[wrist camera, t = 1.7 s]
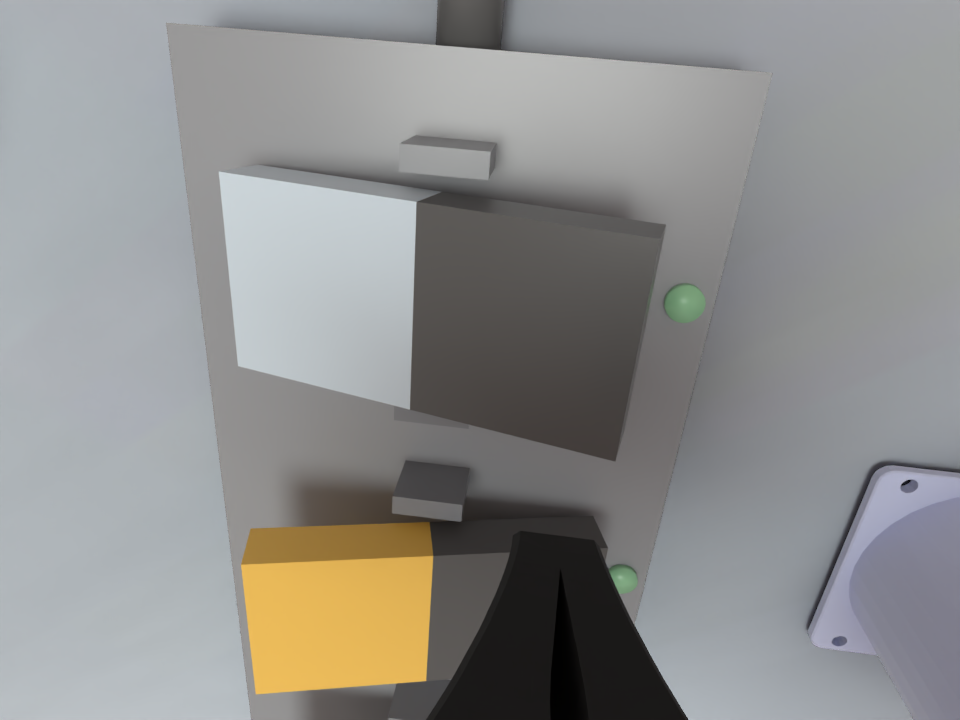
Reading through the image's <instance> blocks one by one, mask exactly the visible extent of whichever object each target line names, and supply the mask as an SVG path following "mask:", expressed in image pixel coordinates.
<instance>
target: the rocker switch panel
mask: <svg viewBox="0 0 960 720" xmlns="http://www.w3.org/2000/svg"><path fill="white" fill-rule="evenodd" d="M503 9H504V0H438V7H437V32H436V45H429V44H417V43H405V42H392V41H380V40H368V39H356V38H344V37H332V36H320V35H308V34H296V33H284V32H272V31H259V30H247V29H235V28H223V27H211V26H199V25H187V24H175V23H166V26H167V34H168V42H169V51H170V59H171V67H172V75H173V83H174V91H175V100H176V108H177V116H178V124H179V132H180V141H181V149H182V157H183V165H184V173H185V181H186V190H187V198H188V206H189V214H190V222H191V231H192V239H193V247H194V255H195V263H196V271H197V280H198V288H199V296H200V304H201V312H202V321H203V329H204V337H205V345H206V353H207V362H208V370H209V378H210V386H211V394H212V402H213V411H214V419H215V427H216V435H217V443H218V452H219V460H220V468H221V476H222V484H223V492H224V501H225V509H226V517H227V525H228V533H229V542H230V550H231V558H232V566H233V574H234V582H235V591H236V599H237V607H238V615H239V623H240V632H241V640H242V648H243V656H244V664H245V672H246V681H247V689H248V697H249V705H250V713H251V720H426V719H427V717H428V716H429V714H430V713H431V711H432V710H433V708H434V707H435V705H436V703H437V702H438V700H439V699H440V697H441V696H442V694H443V692H444V691H445V689H446V687H447V686H448V684H449V682H450V681H451V679H447V680H434V681H421V682H408V683H396V684H383V685H370V686H357V687H344V688H331V689H319V690H306V691H293V692H280V693H267V694H256V692H255V683H254V675H253V666H252V657H251V648H250V640H249V631H248V622H247V613H246V605H245V596H244V587H243V578H242V570H241V563H242V559H243V555H244V551H245V548H246V544H247V540H248V536H249V533H250V529H251V528H278V527H305V526H332V525H359V524H386V523H414V522H441V521H457V522H461V521H468V520H495V519H522V518H550V517H577V516H593V517H594V519H595V521H596V523H597V525H598V527H599V529H600V532H601V534H602V536H603V538H604V540H605V542H606V544H607V547H608V551H607V556H606V561H605V562H606V565H607V567H608V570H609V572H610V574H611V577H612V579H613V581H614V584H615V586H616V588H617V590H618V592H619V595H620V597H621V599H622V601H623V603H624V605H625V607H626V609H627V611H628V613H629V616H630V618H631V620H632V622H633V624H634V625H635V621H636V617H637V613H638V609H639V605H640V601H641V597H642V593H643V589H644V585H645V581H646V577H647V573H648V569H649V565H650V561H651V557H652V553H653V549H654V545H655V541H656V537H657V533H658V529H659V525H660V521H661V517H662V513H663V509H664V505H665V501H666V497H667V493H668V489H669V485H670V481H671V477H672V473H673V469H674V465H675V461H676V457H677V453H678V449H679V445H680V441H681V437H682V433H683V429H684V425H685V421H686V417H687V413H688V409H689V405H690V401H691V397H692V393H693V389H694V385H695V381H696V377H697V373H698V369H699V365H700V361H701V357H702V353H703V349H704V345H705V341H706V337H707V333H708V329H709V325H710V321H711V317H712V313H713V309H714V305H715V301H716V297H717V293H718V289H719V285H720V281H721V277H722V273H723V269H724V265H725V261H726V257H727V253H728V249H729V245H730V241H731V237H732V233H733V230H734V226H735V222H736V218H737V214H738V210H739V206H740V202H741V198H742V194H743V190H744V186H745V182H746V178H747V174H748V170H749V166H750V162H751V158H752V154H753V150H754V146H755V142H756V138H757V134H758V130H759V126H760V122H761V118H762V114H763V110H764V106H765V102H766V98H767V94H768V90H769V86H770V82H771V78H772V74H773V73H767V72H755V71H743V70H731V69H719V68H707V67H695V66H683V65H671V64H659V63H646V62H634V61H622V60H610V59H598V58H586V57H574V56H562V55H550V54H538V53H526V52H513V51H501V50H500V46H501V34H502V21H503ZM253 165H264V166H270V167H277V168H284V169H291V170H298V171H304V172H311V173H318V174H325V175H332V176H338V177H345V178H352V179H359V180H366V181H372V182H379V183H386V184H393V185H400V186H407V187H413V188H420V189H427V190H434V191H441V192H447V193H454V194H461V195H468V196H475V197H481V198H488V199H495V200H502V201H509V202H515V203H522V204H529V205H536V206H543V207H549V208H556V209H563V210H570V211H577V212H584V213H590V214H597V215H604V216H611V217H618V218H624V219H631V220H638V221H645V222H652V223H658V224H665V225H666V229H665V234H664V238H663V243H662V248H661V253H660V258H659V263H658V268H657V273H656V278H655V283H654V288H653V292H652V297H651V302H650V307H649V312H648V317H647V322H646V327H645V332H644V337H643V342H642V346H641V351H640V356H639V361H638V366H637V371H636V376H635V381H634V386H633V391H632V396H631V400H630V405H629V410H628V415H627V420H626V425H625V430H624V434H623V437H622V441H621V444H620V448H619V451H618V455H617V458H616V462H615V461H611V460H607V459H603V458H599V457H595V456H591V455H587V454H583V453H579V452H575V451H571V450H567V449H563V448H559V447H555V446H551V445H547V444H544V443H540V442H536V441H532V440H528V439H524V438H520V437H516V436H512V435H508V434H504V433H500V432H496V431H492V430H488V429H484V428H480V427H476V426H472V425H469V424H465V423H461V422H457V421H453V420H449V419H445V418H441V417H437V416H433V415H429V414H425V413H421V412H417V411H413V410H409V409H405V408H401V407H397V406H394V405H390V404H386V403H382V402H378V401H374V400H370V399H366V398H362V397H358V396H354V395H350V394H346V393H342V392H338V391H334V390H330V389H326V388H322V387H319V386H315V385H311V384H307V383H303V382H299V381H295V380H291V379H287V378H283V377H279V376H275V375H271V374H267V373H263V372H259V371H255V370H251V369H248V368H244V367H240V366H238V361H237V351H236V341H235V331H234V321H233V310H232V300H231V290H230V280H229V270H228V260H227V250H226V240H225V230H224V220H223V210H222V200H221V190H220V180H219V171H225V170H230V169H236V168H241V167H247V166H253Z"/></svg>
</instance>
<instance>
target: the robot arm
mask: <svg viewBox="0 0 960 720" xmlns="http://www.w3.org/2000/svg"><path fill="white" fill-rule="evenodd" d="M907 480H911V481H910V483H908V484H906V485H903V486H901V484H902V483H903V482H905V481H907ZM808 635H809V638H810V640H811V642H812V644H813V645H815V646H816V647H820V648H826V649H833V650H841V651H848V652H856V653H863V654H871V655H878V657H879V659H880V660H881V662H882V664H883V666H884V668H885V669H886V671H887V673H888V675H889V677H890V678H891V680H892V682H893V684H894V685H895V687H896V689H897V691H898V693H899V694H900V696H901V698H902V700H903V702H904V703H905V705H906V707H907V709H908V711H909V712H910V714H911V716H912V718H913V719H914V720H960V473H955V472H946V471H938V470H929V469H920V468H912V467H903V466H895V465H890V466H884V467H882V468H880V469H878V470H877V471H876V472H875V473H874V474H873V476H872V478H871V480H870V483H869V485H868V488H867V490H866V492H865V495H864V497H863V500H862V502H861V504H860V507H859V509H858V512H857V514H856V516H855V519H854V521H853V524H852V526H851V528H850V531H849V533H848V536H847V538H846V540H845V543H844V545H843V548H842V550H841V552H840V555H839V557H838V560H837V562H836V564H835V567H834V569H833V572H832V574H831V576H830V579H829V581H828V584H827V586H826V588H825V591H824V593H823V596H822V598H821V600H820V603H819V605H818V608H817V610H816V612H815V615H814V617H813V620H812V622H811V624H810V627H809V629H808ZM837 636H839V637H837ZM426 720H688V718H687V717H686V715H685V713H684V712H683V710H682V709H681V707H680V705H679V704H678V702H677V700H676V699H675V697H674V695H673V694H672V692H671V690H670V689H669V687H668V685H667V684H666V682H665V680H664V679H663V677H662V675H661V673H660V672H659V670H658V668H657V666H656V665H655V663H654V661H653V659H652V657H651V656H650V654H649V652H648V650H647V648H646V646H645V644H644V642H643V641H642V639H641V637H640V635H639V633H638V631H637V629H636V627H635V625H634V624H633V622H632V620H631V618H630V616H629V613H628V611H627V609H626V607H625V605H624V603H623V601H622V599H621V597H620V595H619V592H618V590H617V588H616V586H615V584H614V581H613V579H612V577H611V574H610V572H609V570H608V567H607V565H606V562H605V560H604V557H603V555H602V552H601V549H600V546H599V545H598V544H597V543H596V542H595V540H590V539H582V538H574V537H566V536H558V535H550V534H542V533H534V532H527V531H519V532H518V533H516V534H514V535H513V538H512V546H511V550H510V554H509V558H508V562H507V565H506V568H505V571H504V574H503V576H502V579H501V581H500V584H499V587H498V589H497V592H496V594H495V596H494V598H493V600H492V603H491V605H490V607H489V609H488V611H487V613H486V616H485V618H484V620H483V622H482V624H481V626H480V628H479V630H478V632H477V634H476V636H475V638H474V640H473V642H472V643H471V645H470V647H469V649H468V651H467V652H466V654H465V656H464V658H463V660H462V662H461V663H460V665H459V667H458V669H457V671H456V672H455V674H454V676H453V678H452V679H451V681H450V682H449V684H448V686H447V687H446V689H445V691H444V692H443V694H442V696H441V697H440V699H439V700H438V702H437V703H436V705H435V707H434V708H433V710H432V711H431V713H430V714H429V716H428V717H427V719H426Z"/></svg>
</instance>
